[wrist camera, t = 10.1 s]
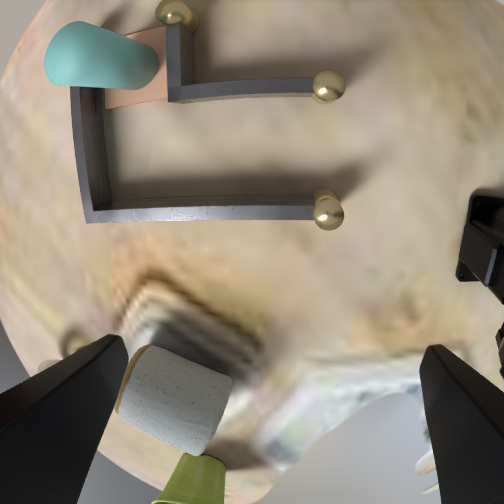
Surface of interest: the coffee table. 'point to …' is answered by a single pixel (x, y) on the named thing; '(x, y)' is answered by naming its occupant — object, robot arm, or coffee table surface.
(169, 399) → the ceramic mug
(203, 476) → the plant pot
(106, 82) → the peg
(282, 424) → the coffee table surface
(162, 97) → the pad
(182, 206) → the metal rail track
